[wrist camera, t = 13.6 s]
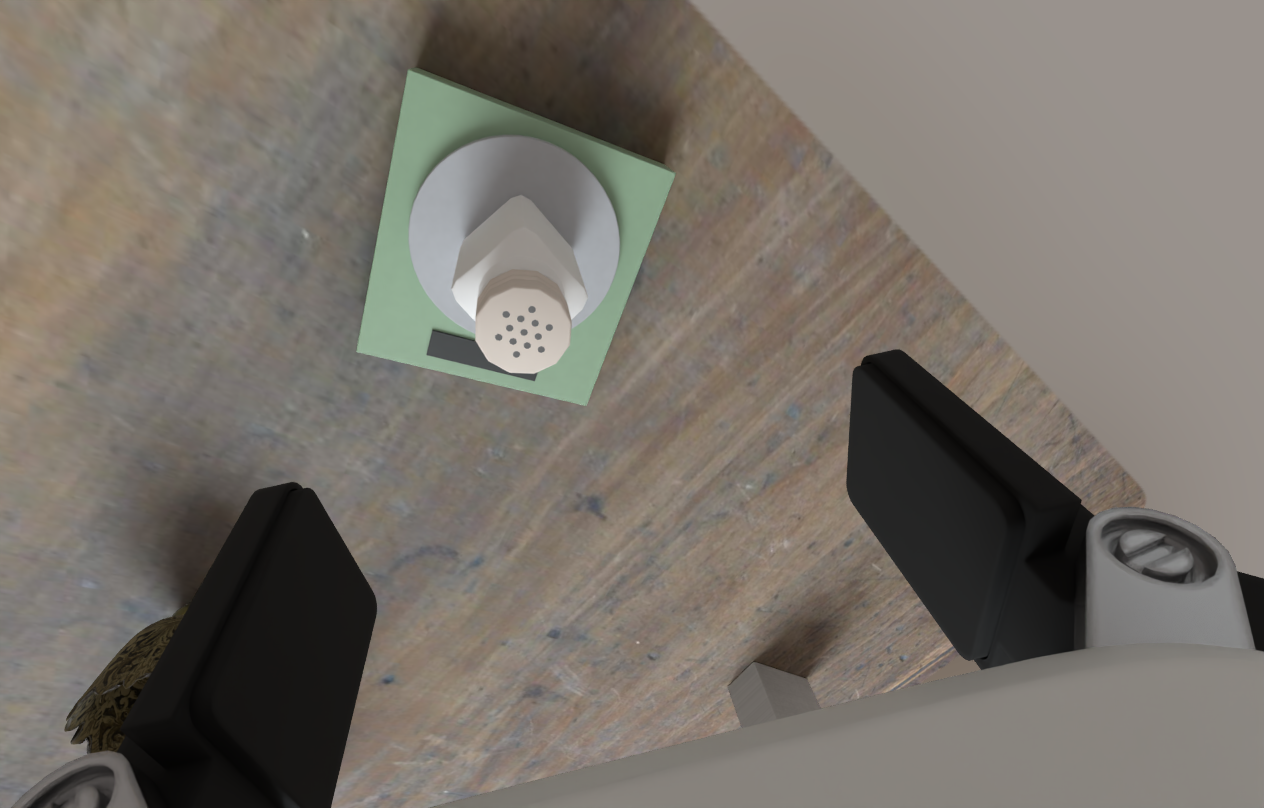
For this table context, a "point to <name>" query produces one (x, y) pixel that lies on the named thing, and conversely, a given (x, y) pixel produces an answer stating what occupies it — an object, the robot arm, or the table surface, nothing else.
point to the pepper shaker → (519, 288)
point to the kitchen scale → (468, 195)
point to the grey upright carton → (770, 695)
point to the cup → (120, 687)
